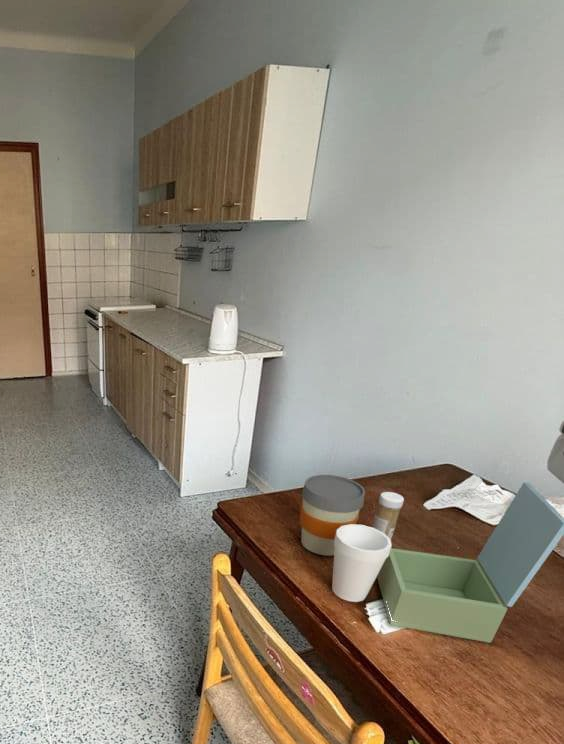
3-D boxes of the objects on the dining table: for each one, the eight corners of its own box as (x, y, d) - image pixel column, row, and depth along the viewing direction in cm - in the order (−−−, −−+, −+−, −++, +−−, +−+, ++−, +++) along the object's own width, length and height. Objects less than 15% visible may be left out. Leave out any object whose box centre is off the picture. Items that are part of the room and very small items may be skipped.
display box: (390, 624, 86) (401, 591, 83) (377, 578, 98) (386, 547, 94) (490, 643, 82) (507, 608, 78) (464, 592, 94) (478, 560, 90)
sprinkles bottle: (392, 552, 106) (409, 500, 99) (372, 553, 106) (387, 501, 99) (381, 541, 110) (396, 490, 103) (362, 542, 110) (376, 491, 103)
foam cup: (324, 572, 100) (336, 520, 94) (372, 582, 97) (388, 529, 91) (323, 600, 92) (336, 546, 86) (376, 612, 89) (393, 557, 83)
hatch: (564, 523, 70) (570, 524, 70) (523, 482, 81) (529, 483, 81) (506, 605, 78) (511, 607, 78) (476, 557, 90) (481, 558, 90)
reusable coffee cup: (315, 523, 117) (326, 469, 110) (362, 547, 107) (378, 490, 100) (281, 540, 111) (291, 484, 104) (328, 567, 102) (343, 507, 94)
